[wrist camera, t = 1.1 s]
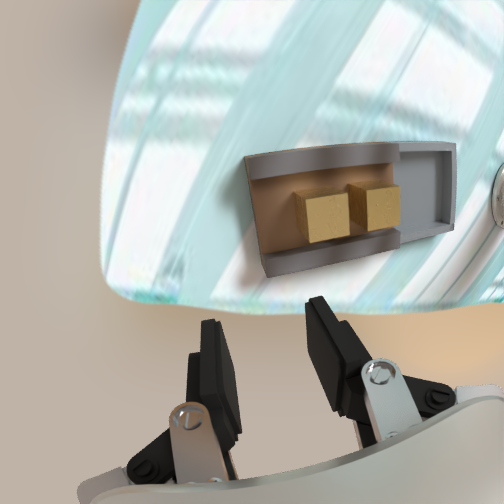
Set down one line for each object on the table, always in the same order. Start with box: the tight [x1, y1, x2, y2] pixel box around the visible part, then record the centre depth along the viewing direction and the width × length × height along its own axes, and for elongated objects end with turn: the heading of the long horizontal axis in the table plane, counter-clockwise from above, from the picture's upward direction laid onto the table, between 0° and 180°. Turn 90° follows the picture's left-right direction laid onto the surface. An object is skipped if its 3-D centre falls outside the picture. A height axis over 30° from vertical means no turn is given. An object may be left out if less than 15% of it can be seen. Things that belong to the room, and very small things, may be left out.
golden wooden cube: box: [293, 186, 350, 243], centre depth 26 cm, size 4×4×4 cm
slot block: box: [244, 142, 401, 278], centre depth 28 cm, size 16×12×4 cm
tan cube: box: [348, 179, 400, 231], centre depth 26 cm, size 4×4×4 cm
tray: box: [389, 141, 457, 244], centre depth 29 cm, size 11×12×2 cm
